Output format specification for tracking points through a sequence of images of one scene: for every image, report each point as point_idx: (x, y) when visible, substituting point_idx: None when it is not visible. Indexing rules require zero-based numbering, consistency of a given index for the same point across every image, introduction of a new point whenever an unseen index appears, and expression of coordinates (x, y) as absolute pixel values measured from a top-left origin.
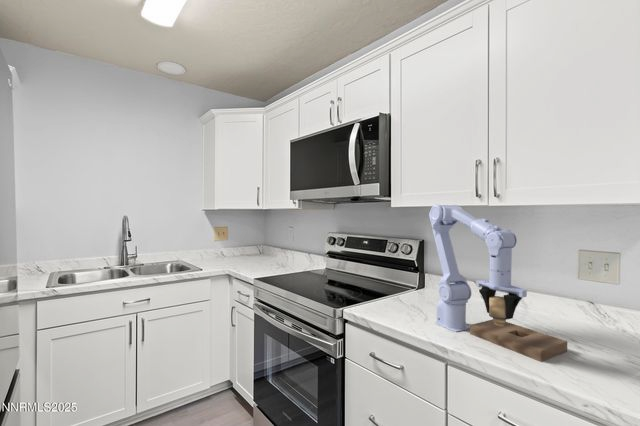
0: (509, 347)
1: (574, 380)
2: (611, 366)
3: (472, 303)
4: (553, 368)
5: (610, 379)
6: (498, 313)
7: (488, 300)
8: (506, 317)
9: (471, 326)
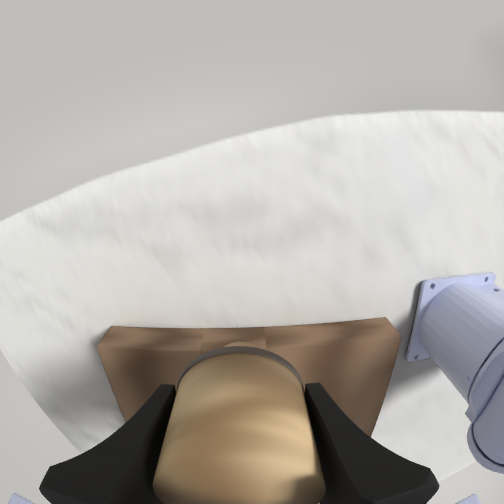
0: (215, 331)
1: (27, 292)
2: (75, 424)
3: (455, 460)
4: (77, 316)
5: (29, 363)
6: (201, 379)
7: (328, 452)
8: (169, 387)
9: (393, 334)
